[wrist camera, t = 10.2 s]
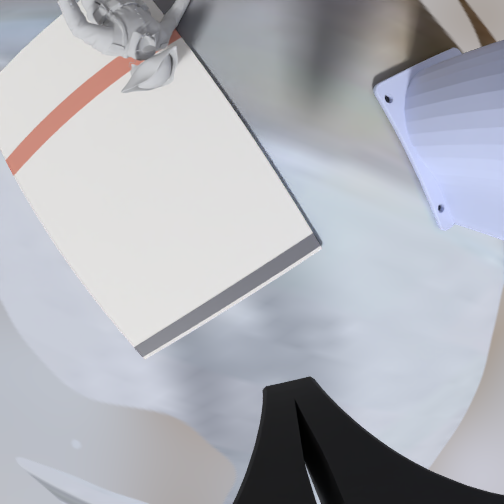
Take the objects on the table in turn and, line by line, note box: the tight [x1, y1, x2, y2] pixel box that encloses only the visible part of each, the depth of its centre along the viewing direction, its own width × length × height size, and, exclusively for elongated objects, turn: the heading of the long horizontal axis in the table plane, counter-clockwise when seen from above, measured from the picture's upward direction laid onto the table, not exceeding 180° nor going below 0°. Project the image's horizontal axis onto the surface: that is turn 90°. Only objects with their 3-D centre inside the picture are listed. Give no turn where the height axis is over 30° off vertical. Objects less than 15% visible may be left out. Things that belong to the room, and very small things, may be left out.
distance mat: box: [0, 0, 322, 359], centre depth 15 cm, size 20×12×1 cm, turn 33°
